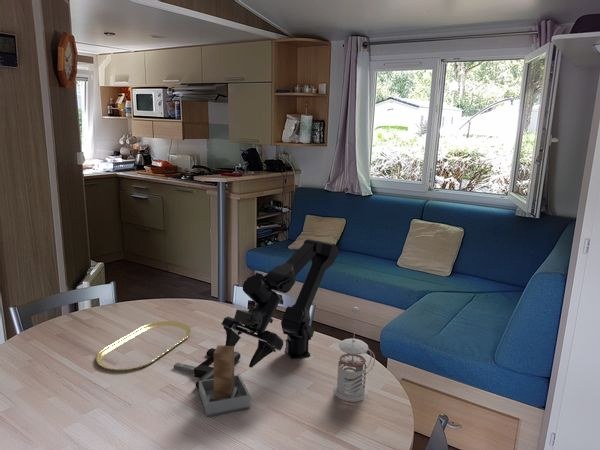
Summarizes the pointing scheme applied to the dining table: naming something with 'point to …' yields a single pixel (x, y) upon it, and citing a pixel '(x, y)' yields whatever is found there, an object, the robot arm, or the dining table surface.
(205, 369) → the door handle
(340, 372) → the french press
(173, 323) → the gold oval ring
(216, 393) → the wooden post on base
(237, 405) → the tray
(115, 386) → the dining table surface
